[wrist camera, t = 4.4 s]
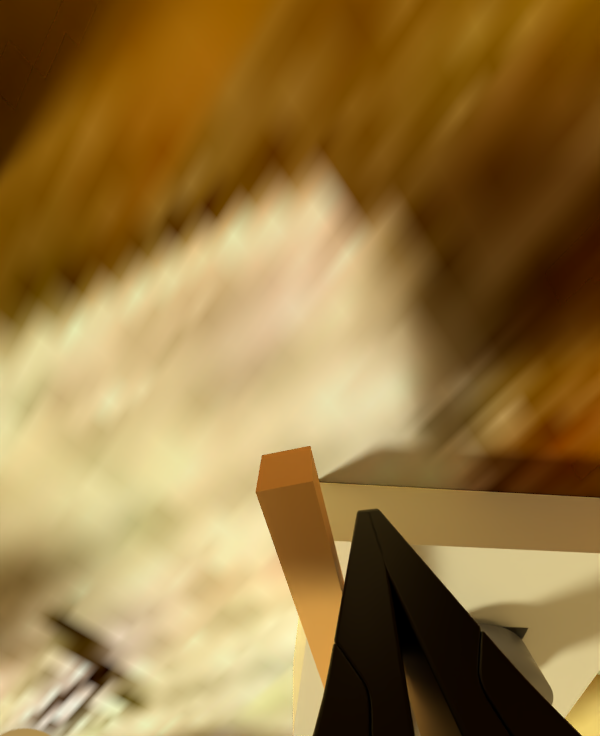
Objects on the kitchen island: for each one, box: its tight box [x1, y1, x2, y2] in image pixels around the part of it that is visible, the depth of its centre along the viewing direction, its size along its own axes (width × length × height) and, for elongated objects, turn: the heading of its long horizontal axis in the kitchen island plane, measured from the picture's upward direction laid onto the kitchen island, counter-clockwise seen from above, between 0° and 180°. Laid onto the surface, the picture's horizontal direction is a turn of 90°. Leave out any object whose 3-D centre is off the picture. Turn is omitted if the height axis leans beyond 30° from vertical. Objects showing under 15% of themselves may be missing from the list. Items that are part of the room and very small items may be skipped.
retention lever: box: [256, 446, 344, 689], centre depth 10 cm, size 20×2×1 cm, turn 13°
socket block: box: [293, 482, 600, 736], centre depth 14 cm, size 14×14×5 cm
